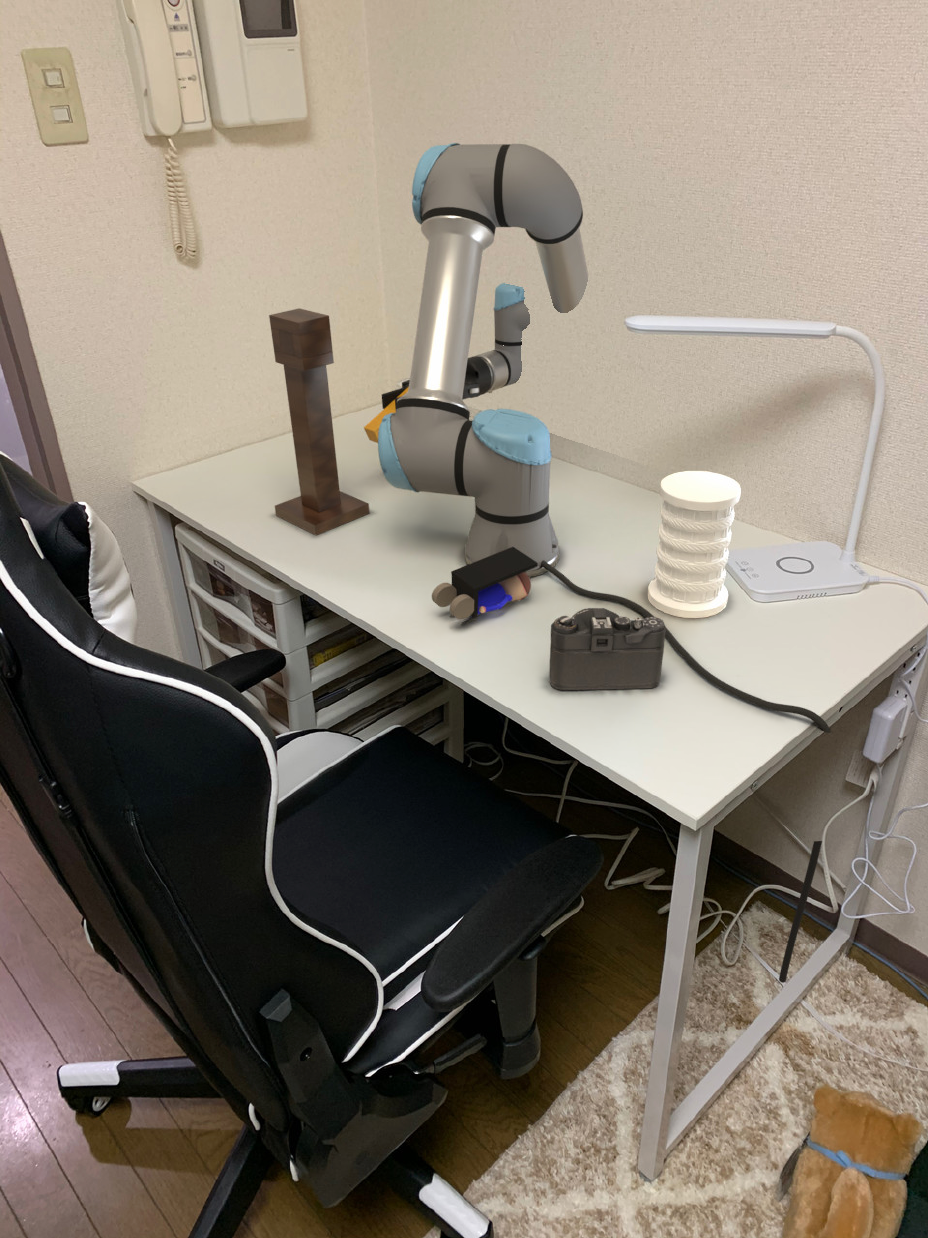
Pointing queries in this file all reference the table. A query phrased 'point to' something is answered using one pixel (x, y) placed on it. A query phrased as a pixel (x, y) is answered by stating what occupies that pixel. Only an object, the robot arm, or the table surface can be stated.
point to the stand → (311, 422)
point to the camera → (605, 651)
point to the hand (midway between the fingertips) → (390, 403)
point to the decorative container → (693, 543)
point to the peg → (380, 420)
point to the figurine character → (486, 584)
